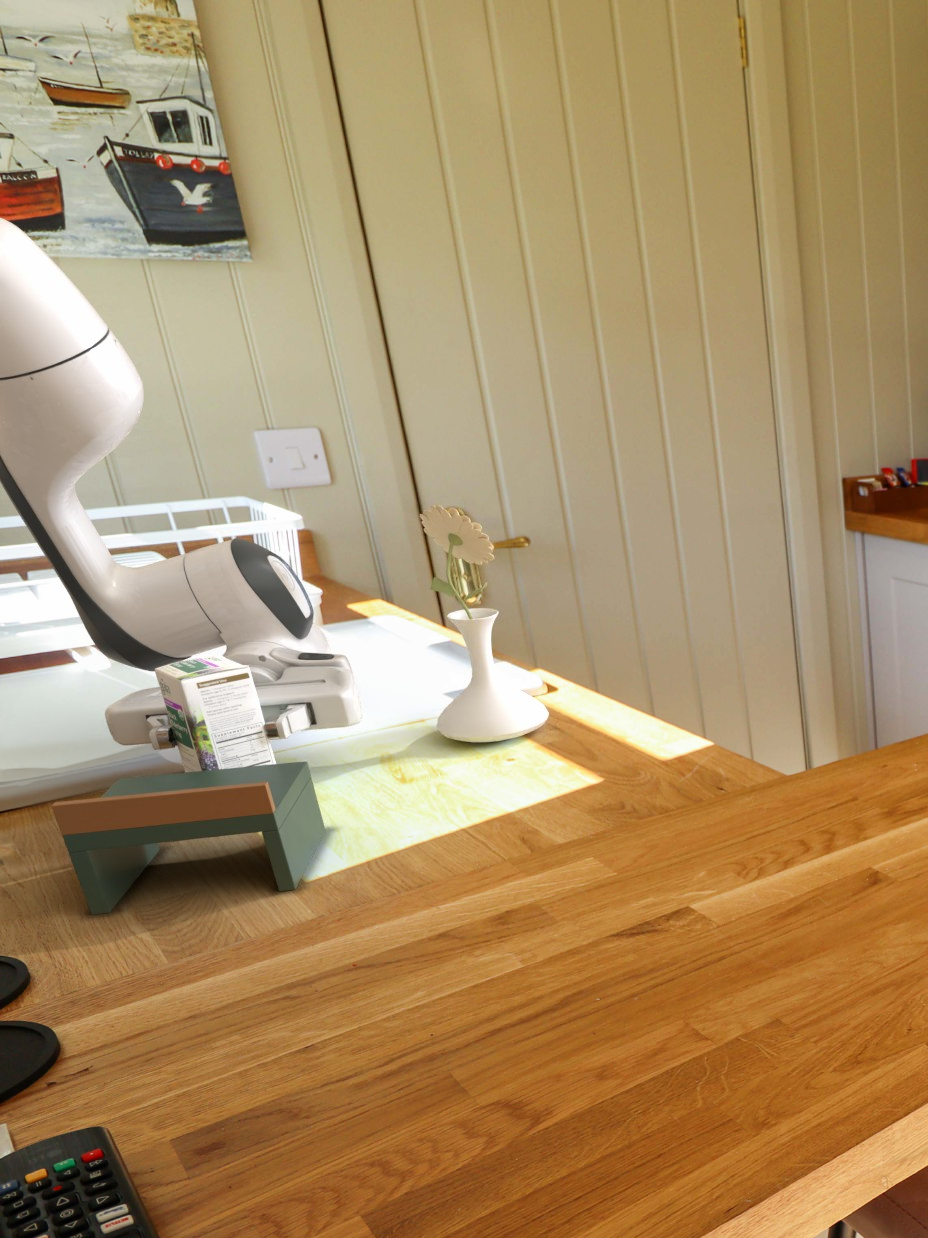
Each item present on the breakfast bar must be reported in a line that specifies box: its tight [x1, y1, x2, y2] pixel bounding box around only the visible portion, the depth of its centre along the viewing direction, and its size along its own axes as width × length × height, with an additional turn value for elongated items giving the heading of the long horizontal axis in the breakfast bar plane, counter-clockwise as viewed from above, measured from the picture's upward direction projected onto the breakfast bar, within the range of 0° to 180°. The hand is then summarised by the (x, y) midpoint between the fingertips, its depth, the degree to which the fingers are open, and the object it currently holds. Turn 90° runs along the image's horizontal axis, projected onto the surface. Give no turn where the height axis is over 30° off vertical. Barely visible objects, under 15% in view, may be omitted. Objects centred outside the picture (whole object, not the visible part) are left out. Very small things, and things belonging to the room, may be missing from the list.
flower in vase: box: [419, 504, 549, 743], centre depth 126 cm, size 13×11×25 cm
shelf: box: [50, 760, 326, 916], centre depth 97 cm, size 14×12×10 cm
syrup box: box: [154, 655, 277, 773], centre depth 107 cm, size 6×6×14 cm
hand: (219, 736), depth 106 cm, fingers closed on syrup box, 7 cm apart
